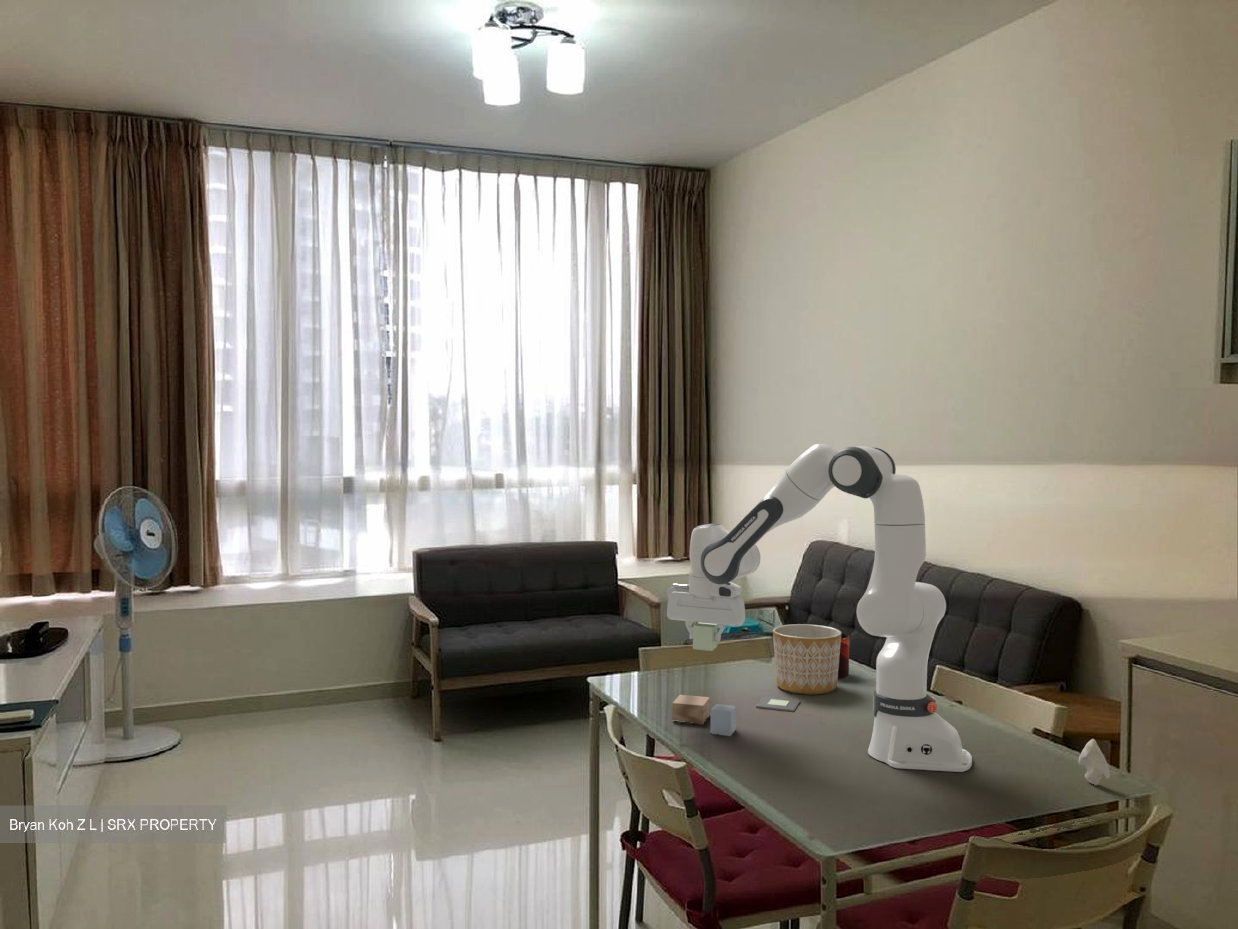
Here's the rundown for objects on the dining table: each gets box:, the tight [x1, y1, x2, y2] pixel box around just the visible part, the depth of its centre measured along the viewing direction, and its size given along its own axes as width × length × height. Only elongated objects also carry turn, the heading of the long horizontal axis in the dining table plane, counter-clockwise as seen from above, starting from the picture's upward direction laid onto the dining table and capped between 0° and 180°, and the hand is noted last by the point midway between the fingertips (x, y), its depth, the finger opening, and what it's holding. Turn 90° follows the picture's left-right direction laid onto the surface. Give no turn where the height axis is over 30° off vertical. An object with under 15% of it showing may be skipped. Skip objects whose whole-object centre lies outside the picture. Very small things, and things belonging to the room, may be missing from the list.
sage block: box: [692, 622, 718, 652], centre depth 247 cm, size 5×5×6 cm
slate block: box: [710, 703, 737, 737], centre depth 236 cm, size 5×5×6 cm
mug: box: [837, 632, 850, 680], centre depth 293 cm, size 10×14×12 cm
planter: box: [772, 623, 842, 696], centre depth 276 cm, size 19×19×16 cm
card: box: [755, 695, 801, 713], centre depth 259 cm, size 10×10×1 cm
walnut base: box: [671, 694, 711, 725], centre depth 246 cm, size 8×8×5 cm
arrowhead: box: [1077, 738, 1111, 786], centre depth 200 cm, size 8×3×10 cm, turn 21°
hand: (705, 639), depth 247 cm, fingers closed on sage block, 5 cm apart
